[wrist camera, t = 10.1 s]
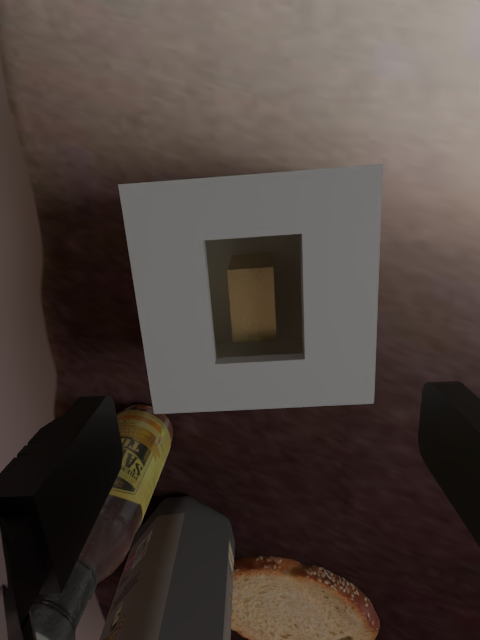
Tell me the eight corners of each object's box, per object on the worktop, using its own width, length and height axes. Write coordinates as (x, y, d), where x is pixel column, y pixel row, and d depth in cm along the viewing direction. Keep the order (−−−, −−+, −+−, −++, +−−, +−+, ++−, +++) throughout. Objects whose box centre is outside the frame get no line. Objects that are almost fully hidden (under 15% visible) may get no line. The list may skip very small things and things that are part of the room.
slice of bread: (190, 567, 44) (185, 600, 40) (343, 525, 41) (352, 556, 38) (246, 669, 48) (246, 706, 45) (386, 636, 46) (397, 673, 42)
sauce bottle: (172, 399, 37) (88, 612, 18) (177, 454, 39) (106, 700, 20) (105, 400, 37) (-49, 611, 18) (113, 455, 39) (-18, 698, 20)
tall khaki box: (232, 255, 31) (227, 270, 25) (268, 252, 31) (273, 267, 25) (236, 313, 33) (232, 342, 26) (271, 311, 33) (276, 339, 26)
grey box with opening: (163, 189, 31) (118, 184, 20) (337, 176, 30) (382, 164, 20) (182, 350, 35) (153, 414, 25) (336, 341, 34) (373, 403, 24)
